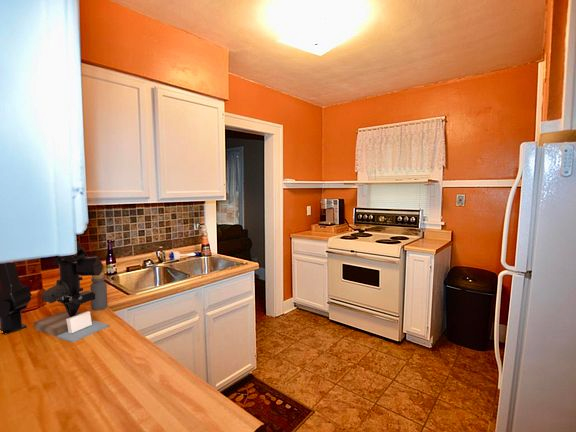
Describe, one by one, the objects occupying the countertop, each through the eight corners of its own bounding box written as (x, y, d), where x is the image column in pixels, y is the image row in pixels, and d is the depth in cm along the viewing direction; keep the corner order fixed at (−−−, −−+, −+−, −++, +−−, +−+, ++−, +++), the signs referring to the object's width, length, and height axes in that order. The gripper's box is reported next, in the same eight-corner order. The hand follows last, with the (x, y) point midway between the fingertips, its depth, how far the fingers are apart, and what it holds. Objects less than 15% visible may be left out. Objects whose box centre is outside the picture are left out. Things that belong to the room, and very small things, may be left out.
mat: (56, 337, 101) (56, 335, 101) (94, 322, 113) (93, 320, 113) (72, 342, 98) (72, 340, 98) (109, 326, 110) (109, 324, 110)
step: (34, 329, 107) (34, 321, 106) (69, 316, 118) (69, 309, 117) (58, 336, 102) (57, 328, 101) (92, 322, 113) (92, 315, 112)
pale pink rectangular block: (66, 319, 103) (69, 318, 102) (86, 311, 110) (89, 311, 109) (68, 332, 103) (72, 333, 102) (88, 324, 110) (92, 324, 109)
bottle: (110, 305, 129) (109, 272, 128) (98, 311, 124) (97, 276, 122) (100, 304, 131) (98, 271, 130) (88, 309, 125) (86, 275, 124)
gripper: (27, 279, 102) (30, 322, 104) (62, 285, 95) (65, 331, 97) (62, 271, 113) (64, 310, 114) (95, 276, 106) (98, 318, 107)
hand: (72, 317), depth 108 cm, fingers closed
